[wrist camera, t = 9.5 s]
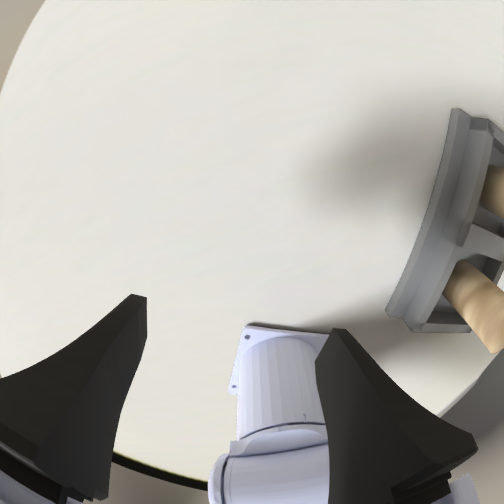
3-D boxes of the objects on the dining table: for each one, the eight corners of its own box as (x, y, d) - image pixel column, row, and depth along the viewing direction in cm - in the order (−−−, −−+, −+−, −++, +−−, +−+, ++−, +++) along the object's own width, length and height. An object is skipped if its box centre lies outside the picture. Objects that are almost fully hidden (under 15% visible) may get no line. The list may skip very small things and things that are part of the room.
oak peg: (459, 299, 20) (504, 351, 13) (434, 296, 20) (482, 355, 13) (476, 263, 19) (529, 310, 12) (452, 256, 18) (511, 309, 11)
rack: (463, 316, 23) (505, 369, 15) (385, 310, 22) (430, 386, 14) (521, 163, 15) (584, 190, 7) (451, 108, 14) (540, 118, 6)
